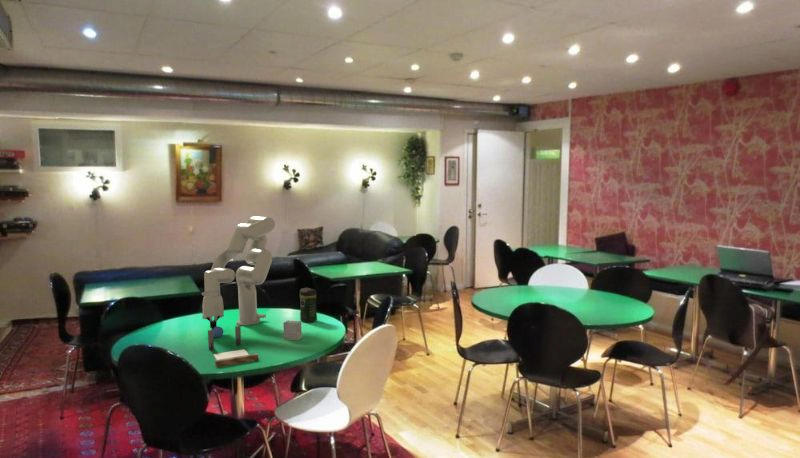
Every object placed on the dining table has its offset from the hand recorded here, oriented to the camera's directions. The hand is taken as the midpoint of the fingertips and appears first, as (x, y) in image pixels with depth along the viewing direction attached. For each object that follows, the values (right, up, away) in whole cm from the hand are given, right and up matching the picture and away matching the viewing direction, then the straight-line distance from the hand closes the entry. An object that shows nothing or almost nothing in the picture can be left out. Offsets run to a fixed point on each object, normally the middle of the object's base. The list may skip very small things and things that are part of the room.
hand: (213, 328), depth 284 cm
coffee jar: (+46, 0, +21) cm, 51 cm away
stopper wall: (+26, -6, -46) cm, 53 cm away
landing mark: (+21, -6, -37) cm, 43 cm away
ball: (+5, 0, -8) cm, 9 cm away
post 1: (+8, -5, -26) cm, 28 cm away
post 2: (+19, -4, -20) cm, 28 cm away
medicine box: (+44, -3, -12) cm, 45 cm away
